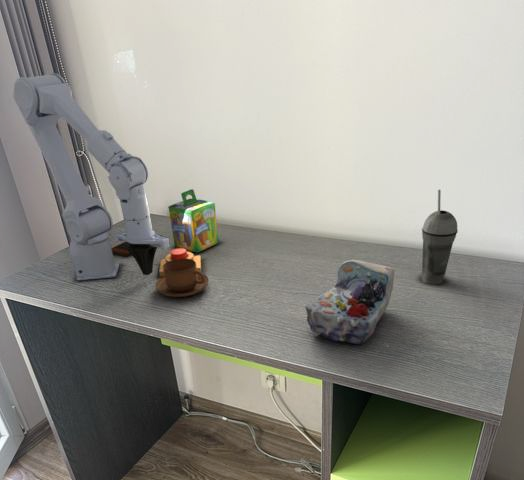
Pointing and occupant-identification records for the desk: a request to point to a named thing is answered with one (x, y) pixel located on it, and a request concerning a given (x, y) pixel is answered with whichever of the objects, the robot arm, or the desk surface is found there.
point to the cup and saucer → (181, 279)
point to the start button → (178, 254)
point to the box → (189, 256)
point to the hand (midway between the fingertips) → (147, 273)
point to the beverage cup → (437, 244)
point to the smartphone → (122, 248)
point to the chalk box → (193, 223)
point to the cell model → (352, 302)
